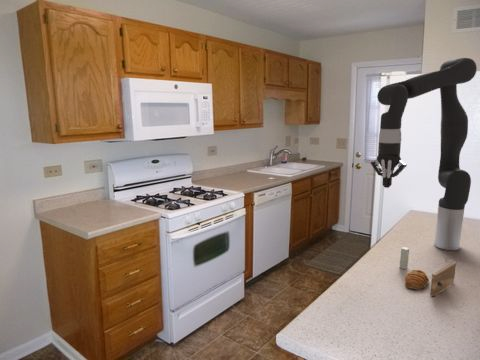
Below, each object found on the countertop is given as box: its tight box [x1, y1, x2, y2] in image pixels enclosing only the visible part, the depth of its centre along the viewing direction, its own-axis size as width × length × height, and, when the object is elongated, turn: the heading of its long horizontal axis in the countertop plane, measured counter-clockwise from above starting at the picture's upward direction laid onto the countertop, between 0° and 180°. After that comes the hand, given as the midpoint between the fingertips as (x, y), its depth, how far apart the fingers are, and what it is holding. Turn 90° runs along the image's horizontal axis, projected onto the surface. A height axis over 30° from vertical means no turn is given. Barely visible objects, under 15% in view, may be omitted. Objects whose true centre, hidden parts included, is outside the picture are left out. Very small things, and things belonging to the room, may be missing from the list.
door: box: [429, 261, 457, 297], centre depth 112 cm, size 2×14×7 cm, turn 126°
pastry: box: [404, 269, 430, 290], centre depth 117 cm, size 9×7×4 cm
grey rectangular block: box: [399, 246, 457, 270], centre depth 123 cm, size 2×17×8 cm, turn 45°
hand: (386, 187), depth 133 cm, fingers closed
